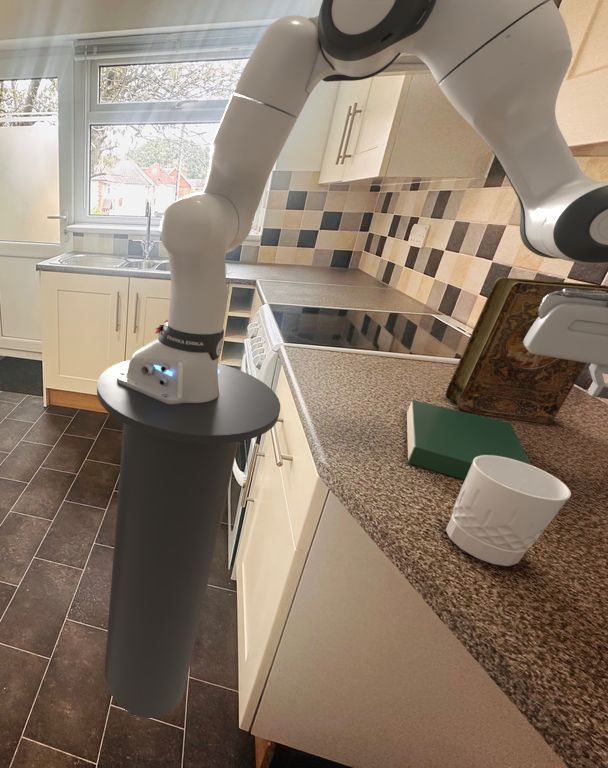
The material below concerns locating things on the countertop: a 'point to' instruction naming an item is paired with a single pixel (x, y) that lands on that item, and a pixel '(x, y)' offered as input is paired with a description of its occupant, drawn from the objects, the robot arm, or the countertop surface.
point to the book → (513, 357)
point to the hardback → (456, 439)
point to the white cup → (504, 508)
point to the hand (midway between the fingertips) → (604, 397)
